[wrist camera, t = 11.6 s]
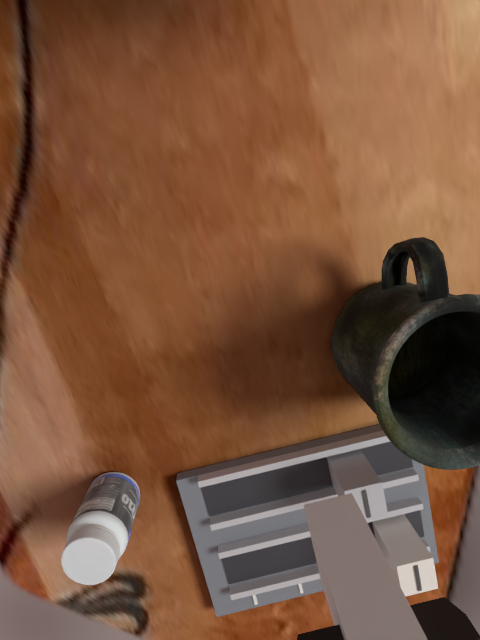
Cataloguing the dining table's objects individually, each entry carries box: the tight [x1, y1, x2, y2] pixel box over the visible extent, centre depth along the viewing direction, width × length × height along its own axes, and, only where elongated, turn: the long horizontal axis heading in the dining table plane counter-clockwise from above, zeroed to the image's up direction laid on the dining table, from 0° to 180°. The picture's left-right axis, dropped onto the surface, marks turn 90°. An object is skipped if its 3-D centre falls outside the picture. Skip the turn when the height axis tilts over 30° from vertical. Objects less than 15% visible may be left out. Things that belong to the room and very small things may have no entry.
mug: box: [332, 237, 480, 470], centre depth 31 cm, size 11×15×12 cm
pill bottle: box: [61, 472, 140, 585], centre depth 35 cm, size 5×5×8 cm
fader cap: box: [372, 514, 438, 596], centre depth 37 cm, size 3×3×6 cm
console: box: [176, 424, 439, 617], centre depth 37 cm, size 15×22×7 cm
